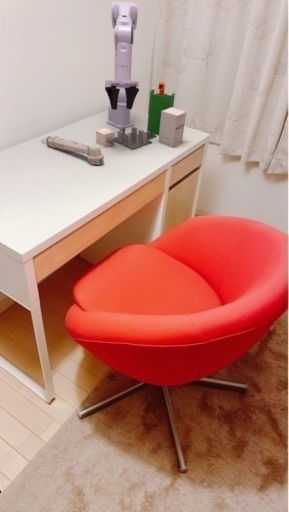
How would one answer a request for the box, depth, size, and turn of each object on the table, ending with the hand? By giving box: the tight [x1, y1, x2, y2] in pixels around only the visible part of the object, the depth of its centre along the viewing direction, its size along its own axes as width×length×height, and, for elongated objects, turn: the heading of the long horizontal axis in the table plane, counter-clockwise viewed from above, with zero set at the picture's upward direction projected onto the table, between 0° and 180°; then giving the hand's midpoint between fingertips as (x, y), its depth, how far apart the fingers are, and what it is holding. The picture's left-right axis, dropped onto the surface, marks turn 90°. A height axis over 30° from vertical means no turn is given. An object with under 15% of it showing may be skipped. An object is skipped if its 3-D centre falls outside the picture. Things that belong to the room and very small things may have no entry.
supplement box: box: [157, 106, 187, 148], centre depth 141 cm, size 7×7×13 cm
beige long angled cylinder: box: [45, 135, 105, 166], centre depth 129 cm, size 5×7×25 cm
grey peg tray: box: [114, 125, 158, 151], centre depth 143 cm, size 12×17×4 cm
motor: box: [146, 81, 176, 136], centre depth 147 cm, size 10×9×20 cm
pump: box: [95, 127, 115, 148], centre depth 137 cm, size 7×5×5 cm
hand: (121, 109), depth 127 cm, fingers open, 7 cm apart
